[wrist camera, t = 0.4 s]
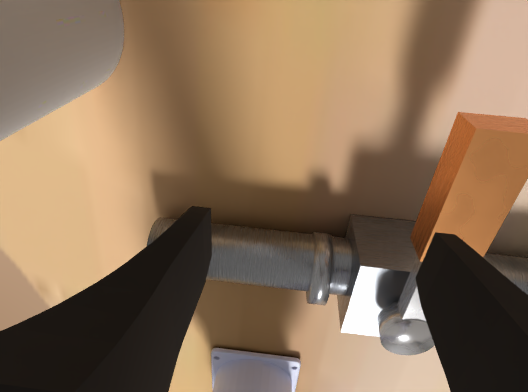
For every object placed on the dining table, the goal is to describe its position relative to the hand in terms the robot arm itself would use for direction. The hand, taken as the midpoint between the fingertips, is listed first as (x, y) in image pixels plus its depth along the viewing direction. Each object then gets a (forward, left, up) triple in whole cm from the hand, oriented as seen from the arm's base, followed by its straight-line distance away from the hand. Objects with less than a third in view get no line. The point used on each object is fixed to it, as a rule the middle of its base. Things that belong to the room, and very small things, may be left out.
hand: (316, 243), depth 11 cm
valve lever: (-3, -6, -5) cm, 8 cm away
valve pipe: (-8, -6, -9) cm, 14 cm away
